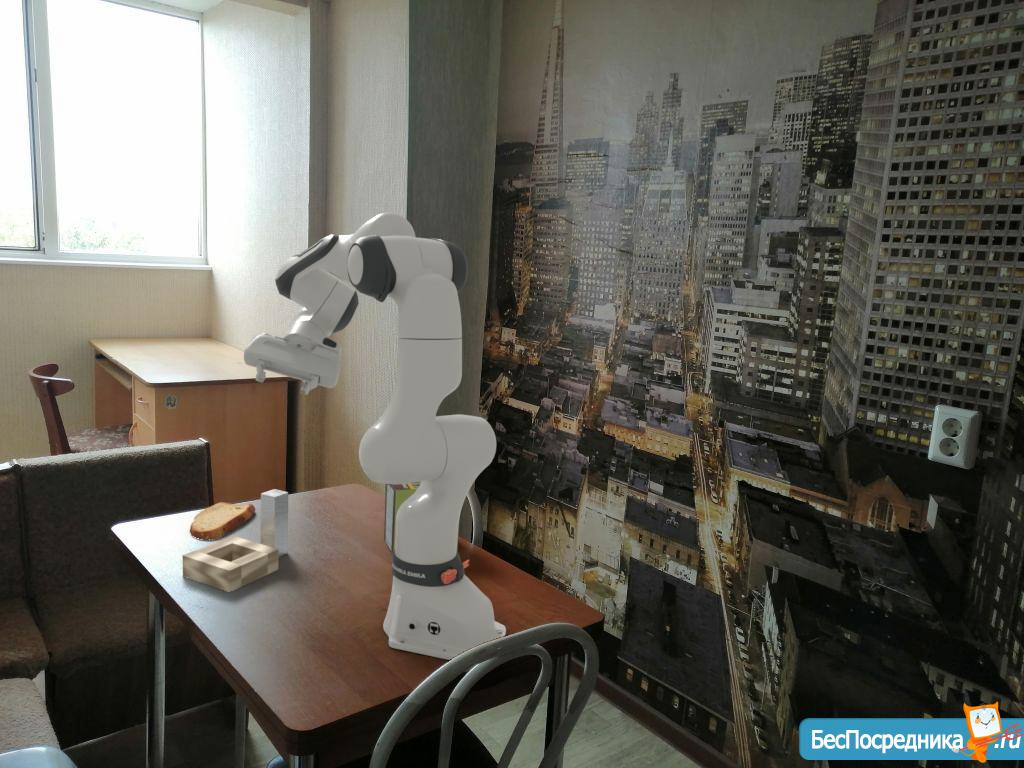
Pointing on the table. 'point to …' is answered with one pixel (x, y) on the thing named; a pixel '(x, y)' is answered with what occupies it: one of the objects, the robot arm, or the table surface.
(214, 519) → the bread slice
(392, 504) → the protein box
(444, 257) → the robot arm
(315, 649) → the table surface
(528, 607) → the table surface
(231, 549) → the well block
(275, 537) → the steel post
